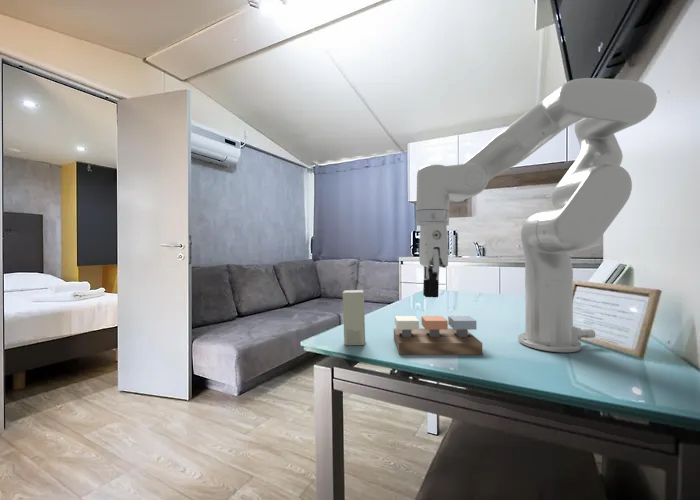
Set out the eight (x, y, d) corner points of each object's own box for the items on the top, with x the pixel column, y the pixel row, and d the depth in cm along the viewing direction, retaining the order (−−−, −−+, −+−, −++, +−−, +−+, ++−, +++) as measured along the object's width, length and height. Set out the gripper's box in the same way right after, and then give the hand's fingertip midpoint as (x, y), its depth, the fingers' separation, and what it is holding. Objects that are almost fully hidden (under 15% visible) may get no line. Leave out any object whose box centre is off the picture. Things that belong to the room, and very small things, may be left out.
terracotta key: (442, 334, 77) (442, 315, 77) (447, 340, 72) (447, 320, 72) (421, 334, 77) (421, 316, 77) (425, 340, 72) (425, 320, 72)
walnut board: (464, 338, 80) (464, 328, 80) (482, 354, 68) (482, 342, 68) (393, 338, 81) (393, 328, 81) (399, 354, 69) (398, 342, 69)
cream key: (415, 334, 77) (415, 316, 77) (419, 340, 72) (418, 320, 72) (395, 334, 78) (394, 316, 78) (397, 340, 73) (397, 320, 72)
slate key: (469, 334, 77) (469, 315, 77) (476, 340, 72) (476, 320, 72) (448, 334, 77) (448, 315, 77) (454, 340, 72) (454, 320, 72)
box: (365, 340, 79) (365, 289, 79) (364, 346, 75) (364, 292, 75) (344, 340, 80) (344, 289, 80) (342, 345, 76) (342, 292, 75)
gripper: (457, 216, 67) (456, 302, 67) (440, 221, 82) (439, 292, 82) (422, 215, 67) (420, 301, 67) (411, 221, 82) (410, 291, 82)
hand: (430, 296), depth 75 cm, fingers closed
